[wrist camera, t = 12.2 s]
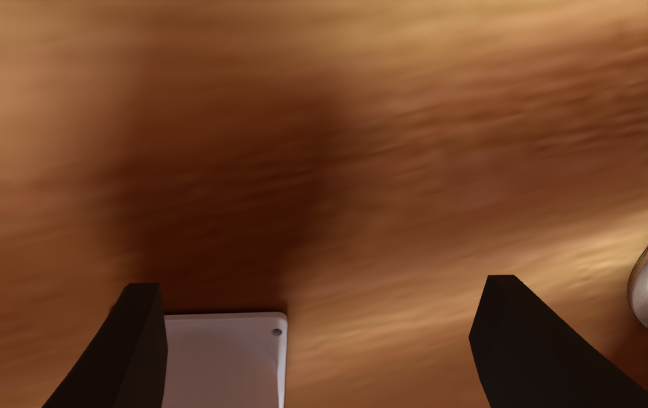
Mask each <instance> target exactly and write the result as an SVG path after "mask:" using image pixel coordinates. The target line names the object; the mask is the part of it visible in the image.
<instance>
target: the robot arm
mask: <svg viewBox="0 0 648 408" xmlns="http://www.w3.org/2000/svg"><path fill="white" fill-rule="evenodd" d="M287 328H288V321H287V316H286V315H285V314H283V313H281V312H257V313H223V314H190V315H164V313H163V305H162V298H161V290H160V283H130V284H128V285H127V286H126V287H125V288H124V290H123V291H122V293H121V295H120V297H119V299H118V300H117V302H116V304H115V305H114V307H113V309H112V310H111V312H110V314H109V315H108V317H107V318H106V320H105V321H104V323H103V325H102V326H101V328H100V329H99V331H98V332H97V334H96V335H95V337H94V338H93V340H92V341H91V342H90V344H89V345H88V347H87V348H86V350H85V351H84V352H83V354H82V355H81V357H80V358H79V360H78V361H77V362H76V364H75V365H74V367H73V368H72V369H71V371H70V372H69V373H68V375H67V376H66V377H65V378H64V380H63V381H62V382H61V383H60V385H59V386H58V387H57V389H56V390H55V391H54V392H53V394H52V395H51V396H50V398H49V399H48V400H47V401H46V403H45V404H44V405H43V406H42V408H284V393H285V372H286V350H287ZM274 329H279V330H274ZM469 341H470V345H471V349H472V353H473V357H474V361H475V365H476V368H477V372H478V375H479V379H480V381H481V384H482V386H483V389H484V392H485V394H486V396H487V399H488V401H489V404H490V406H491V408H648V392H647V391H646V390H645V389H643V388H642V387H641V386H640V385H638V384H637V383H636V382H634V381H633V380H632V379H631V378H629V377H628V376H627V375H626V374H624V373H623V372H622V371H621V370H620V369H618V368H617V367H616V366H615V365H613V364H612V363H611V362H610V361H609V360H607V359H606V358H605V357H604V356H603V355H601V354H600V353H599V352H598V351H597V350H596V349H594V348H593V347H592V346H591V345H590V344H589V343H588V342H587V341H585V340H584V339H583V338H582V337H581V336H580V335H579V334H578V333H576V332H575V331H574V330H573V329H572V328H571V327H570V326H569V325H568V324H567V323H566V322H564V321H563V320H562V319H561V318H560V317H559V316H558V315H557V314H556V313H555V312H554V311H553V310H552V309H550V308H549V307H548V306H547V305H546V304H545V303H544V302H543V301H542V300H541V299H540V298H539V297H538V296H537V295H536V294H535V293H533V292H532V291H531V290H530V289H529V288H528V287H527V286H526V285H525V284H524V283H523V282H522V281H520V280H519V279H518V278H517V277H516V276H515V275H488V277H487V280H486V284H485V287H484V290H483V293H482V296H481V299H480V303H479V306H478V309H477V312H476V315H475V318H474V322H473V325H472V328H471V331H470V334H469Z"/></svg>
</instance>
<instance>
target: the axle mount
mask: <svg viewBox="0 0 648 408" xmlns="http://www.w3.org/2000/svg"><path fill="white" fill-rule="evenodd" d="M627 297H628V302H629V305H630V308H631V309H632V311H633V312H634V314H635V315H636V317H637V318H638V319H639V321H640V322H641V323H642V324H643V325H644V326H645V327H647V328H648V248H647V249H646V251H645V252H644V253H643V255H642V256H641V257H640V259H639V260H638V262H637V264H636V265H635V267H634V269H633V271H632V273H631V276H630V279H629V283H628V288H627Z"/></svg>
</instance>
